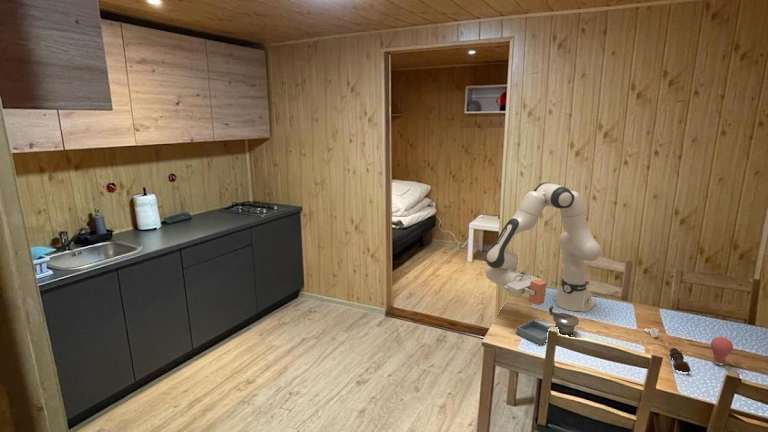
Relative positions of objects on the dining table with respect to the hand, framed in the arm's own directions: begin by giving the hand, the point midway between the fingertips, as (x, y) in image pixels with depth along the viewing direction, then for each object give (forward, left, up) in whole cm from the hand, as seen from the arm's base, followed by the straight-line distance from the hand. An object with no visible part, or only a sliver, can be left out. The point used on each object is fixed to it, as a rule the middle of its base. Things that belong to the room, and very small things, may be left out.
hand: (539, 291), depth 192 cm
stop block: (0, -1, -6) cm, 6 cm away
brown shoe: (-24, +51, -20) cm, 60 cm away
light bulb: (-38, +61, -19) cm, 74 cm away
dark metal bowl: (-9, +9, -19) cm, 23 cm away
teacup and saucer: (-43, +36, -20) cm, 60 cm away
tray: (+5, +4, -19) cm, 20 cm away
